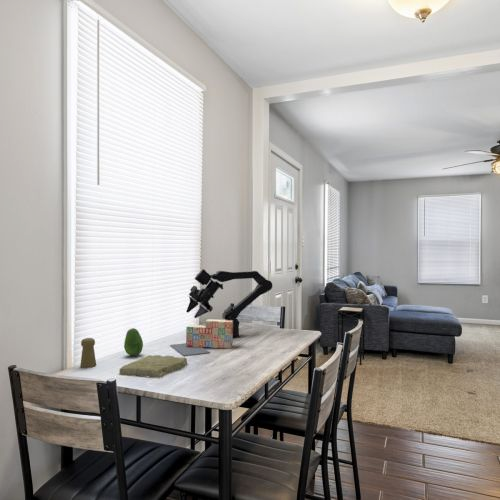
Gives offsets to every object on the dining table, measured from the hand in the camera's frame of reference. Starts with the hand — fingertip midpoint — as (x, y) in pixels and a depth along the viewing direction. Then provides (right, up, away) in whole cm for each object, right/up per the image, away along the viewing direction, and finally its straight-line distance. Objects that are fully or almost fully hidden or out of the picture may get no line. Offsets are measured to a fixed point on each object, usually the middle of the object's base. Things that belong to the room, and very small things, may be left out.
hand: (190, 314), depth 212 cm
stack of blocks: (+11, -12, -18) cm, 24 cm away
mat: (+2, -12, -22) cm, 25 cm away
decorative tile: (-6, -13, -54) cm, 55 cm away
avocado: (-20, -13, -33) cm, 41 cm away
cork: (-34, -13, -48) cm, 60 cm away
